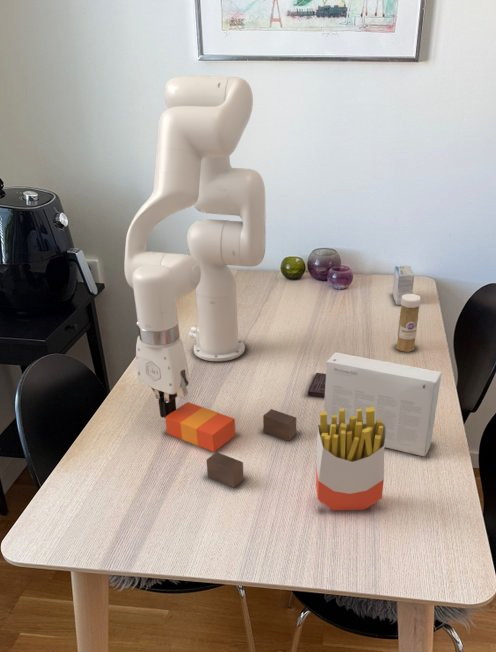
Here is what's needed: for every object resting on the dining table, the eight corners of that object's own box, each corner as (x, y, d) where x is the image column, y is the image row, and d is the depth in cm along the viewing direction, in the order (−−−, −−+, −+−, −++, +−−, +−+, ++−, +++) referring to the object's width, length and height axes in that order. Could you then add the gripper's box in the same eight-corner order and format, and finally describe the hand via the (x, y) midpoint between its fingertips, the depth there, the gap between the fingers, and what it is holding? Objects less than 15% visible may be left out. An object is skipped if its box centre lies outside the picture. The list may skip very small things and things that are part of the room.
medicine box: (411, 305, 187) (414, 275, 183) (395, 305, 188) (398, 275, 183) (407, 294, 194) (410, 265, 189) (391, 294, 194) (394, 265, 189)
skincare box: (432, 443, 131) (443, 371, 122) (425, 457, 127) (436, 384, 118) (331, 419, 138) (334, 350, 129) (321, 433, 134) (324, 362, 125)
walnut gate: (207, 477, 122) (206, 459, 120) (271, 425, 137) (271, 408, 134) (234, 488, 120) (233, 470, 117) (296, 434, 134) (296, 417, 132)
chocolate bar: (316, 372, 153) (395, 381, 149) (316, 376, 153) (394, 385, 150) (307, 391, 146) (390, 401, 142) (307, 395, 146) (390, 405, 142)
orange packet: (166, 433, 134) (164, 416, 132) (189, 418, 139) (187, 401, 137) (213, 452, 129) (212, 434, 127) (235, 435, 134) (234, 418, 131)
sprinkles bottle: (402, 353, 163) (408, 301, 155) (392, 346, 166) (397, 294, 159) (418, 350, 164) (424, 298, 157) (408, 343, 168) (414, 291, 160)
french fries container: (380, 510, 114) (390, 421, 104) (317, 512, 114) (320, 423, 104) (376, 494, 118) (385, 406, 108) (315, 495, 118) (318, 408, 107)
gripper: (116, 330, 127) (129, 412, 138) (176, 349, 120) (184, 434, 131) (143, 317, 132) (154, 397, 143) (202, 334, 125) (208, 417, 136)
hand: (168, 415), depth 137 cm, fingers closed
